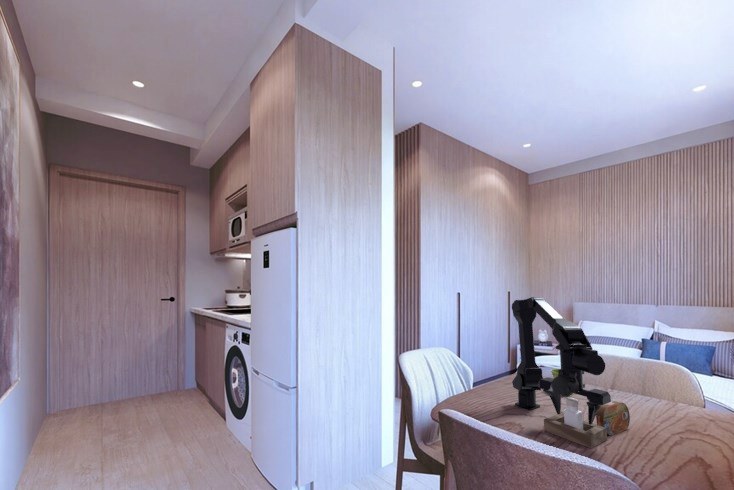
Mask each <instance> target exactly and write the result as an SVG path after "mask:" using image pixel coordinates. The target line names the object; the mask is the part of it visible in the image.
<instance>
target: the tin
mask: <svg viewBox="0 0 734 490" xmlns="http://www.w3.org/2000/svg"><path fill="white" fill-rule="evenodd" d="M630 417H631V416H630V411H629V407H628V406H627V404H626V403H624V402H623V401H621V402H619V401H615V400H614V401H611V402H609V403H607V404H604V405H601V406H600V408H599V409H598V411H597V414H596V416H595V419H596V425H599V426H602V427H605V428H606V430H607V435H609V436H614V435H617V434H619V433H621V432H625V431H626V430H628V428H629V426H630V421H631V419H630Z"/></svg>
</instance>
